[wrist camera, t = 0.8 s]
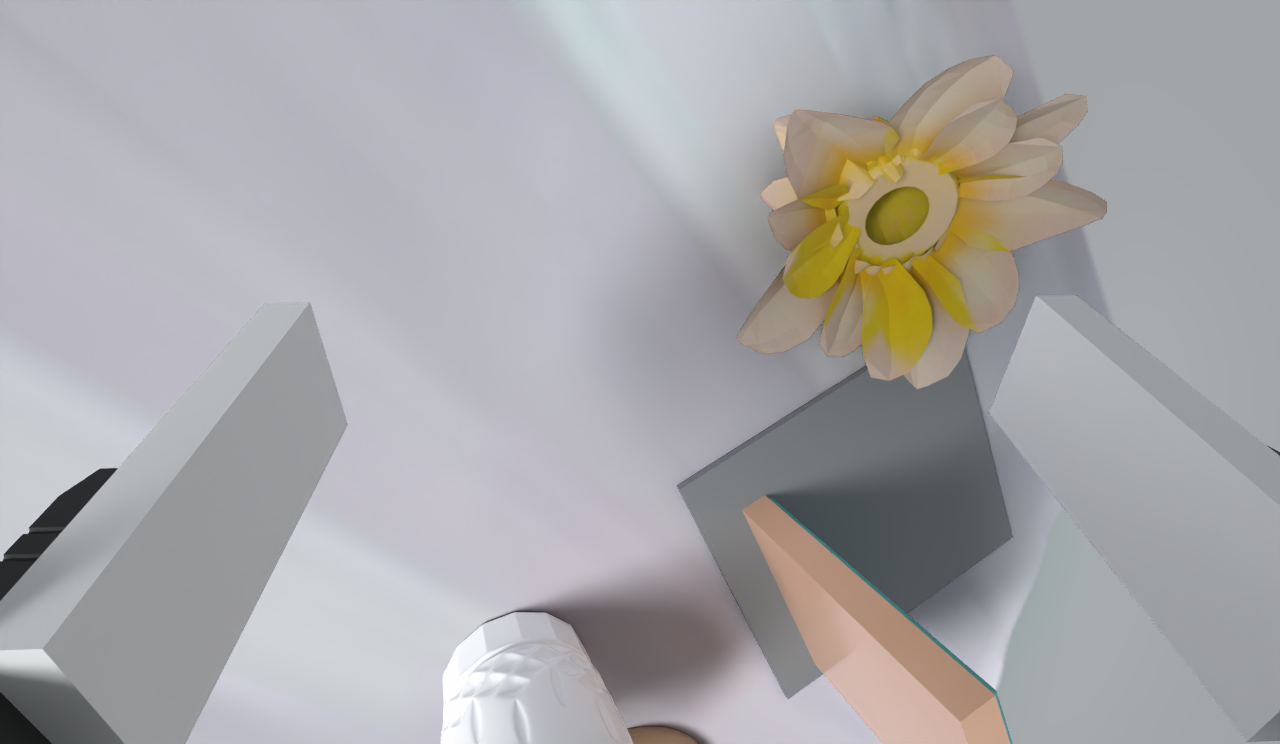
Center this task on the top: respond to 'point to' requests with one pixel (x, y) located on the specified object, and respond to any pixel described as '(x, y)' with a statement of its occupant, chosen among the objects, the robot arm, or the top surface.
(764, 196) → the decorative flower
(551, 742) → the white cup
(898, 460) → the mat
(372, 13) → the top surface
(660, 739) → the coaster
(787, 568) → the tile
